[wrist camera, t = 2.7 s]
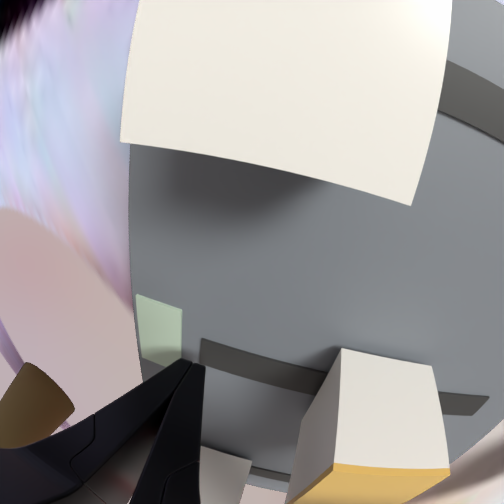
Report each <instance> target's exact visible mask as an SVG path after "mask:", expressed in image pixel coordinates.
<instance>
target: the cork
mask: <svg viewBox="0 0 504 504" xmlns="http://www.w3.org/2000/svg"><path fill="white" fill-rule="evenodd" d="M74 410H75V408H74V405H73V403H72V402H71V400H70V399H69V397H68V396H67V395H66V394H65V392H64V391H63V390H62V389H61V388H60V387H59V386H58V385H57V384H56V383H55V382H54V381H53V380H52V379H51V378H50V377H49V376H48V375H47V374H46V373H45V372H43V371H42V370H41V369H39V368H38V367H37V366H35V365H33V364H31V363H28V362H26V363H25V364H24V365H23V367H22V368H21V370H20V371H19V373H18V374H17V376H16V377H15V379H14V380H13V382H12V383H11V385H10V386H9V388H8V390H7V391H6V393H5V394H4V396H3V398H2V399H1V401H0V448H18V447H23V446H26V445H29V444H32V443H34V442H37V441H39V440H42V439H44V438H47V437H49V436H50V435H51V434H52V433H53V432H54V431H55V430H56V429H57V428H58V427H59V426H60V425H61V424H62V423H63V422H64V421H65V420H66V419H67V418H68V417H69V416H70V415H71V414H72V413H73V412H74Z"/></svg>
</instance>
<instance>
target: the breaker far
mask: <svg viewBox="0 0 504 504" xmlns="http://www.w3.org/2000/svg"><path fill="white" fill-rule="evenodd" d="M251 464H252V461H250V460H247V459H243V458H239V457H236V456H232V455H229V454H225V453H222V452H219V451H216V450H213V449H210V448H207V447H204V446H201V450H200V499H201V504H239V503H240V499H241V497H242V494H243V490H244V487H245V484H246V481H247V477H248V474H249V471H250V468H251Z"/></svg>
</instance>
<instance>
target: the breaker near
mask: <svg viewBox="0 0 504 504" xmlns="http://www.w3.org/2000/svg"><path fill="white" fill-rule="evenodd" d="M451 11H452V0H140V1H139V5H138V10H137V14H136V19H135V24H134V29H133V34H132V40H131V46H130V52H129V58H128V65H127V72H126V80H125V88H124V97H123V107H122V119H121V132H120V142H123V143H131V144H139V145H147V146H154V147H161V148H168V149H175V150H181V151H187V152H193V153H199V154H205V155H211V156H216V157H222V158H227V159H232V160H237V161H242V162H247V163H252V164H257V165H261V166H266V167H270V168H275V169H279V170H284V171H288V172H292V173H296V174H300V175H304V176H308V177H312V178H316V179H320V180H324V181H328V182H332V183H335V184H339V185H343V186H346V187H350V188H353V189H357V190H360V191H364V192H367V193H370V194H374V195H377V196H380V197H384V198H387V199H390V200H393V201H396V202H400V203H403V204H406V205H409V206H411V204H412V201H413V198H414V195H415V192H416V189H417V185H418V182H419V179H420V175H421V172H422V169H423V165H424V162H425V158H426V154H427V151H428V147H429V143H430V139H431V135H432V131H433V127H434V123H435V118H436V114H437V109H438V104H439V99H440V94H441V89H442V84H443V78H444V72H445V65H446V59H447V51H448V43H449V34H450V24H451Z"/></svg>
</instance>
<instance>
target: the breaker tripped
mask: <svg viewBox="0 0 504 504" xmlns="http://www.w3.org/2000/svg"><path fill="white" fill-rule="evenodd" d="M448 476H450V466H449V457H448V449H447V442H446V435H445V429H444V423H443V417H442V411H441V406H440V401H439V396H438V391H437V387H436V382H435V378H434V374H433V369H432V366H429V365H423V364H418V363H412V362H407V361H401V360H396V359H391V358H386V357H381V356H376V355H371V354H366V353H362V352H357V351H353V350H348V349H344V348H341V350H340V352H339V354H338V356H337V358H336V360H335V362H334V364H333V366H332V367H331V369H330V371H329V373H328V375H327V377H326V379H325V380H324V382H323V384H322V386H321V388H320V390H319V391H318V393H317V395H316V397H315V398H314V400H313V402H312V404H311V405H310V407H309V409H308V410H307V412H306V414H305V416H304V417H303V419H302V421H301V427H300V432H299V438H298V443H297V448H296V453H295V458H294V463H293V468H292V473H291V478H290V482H289V487H288V491H287V496H286V500H285V504H403V503H405V502H407V501H409V500H410V499H412V498H414V497H416V496H418V495H419V494H421V493H423V492H424V491H426V490H428V489H429V488H431V487H433V486H434V485H436V484H437V483H439V482H441V481H442V480H444V479H445V478H447V477H448Z"/></svg>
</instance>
